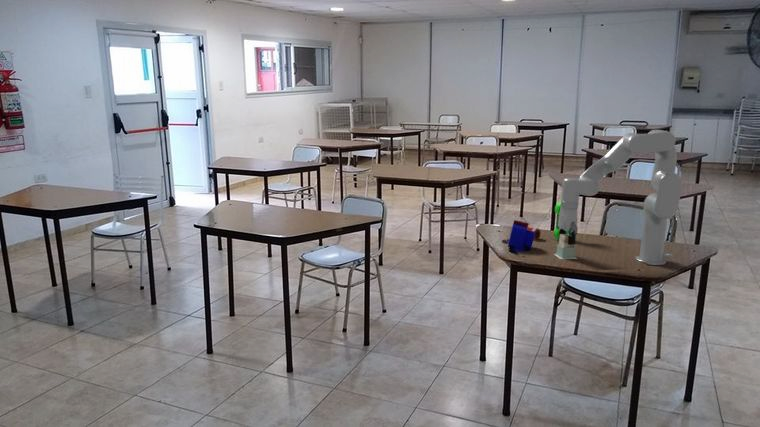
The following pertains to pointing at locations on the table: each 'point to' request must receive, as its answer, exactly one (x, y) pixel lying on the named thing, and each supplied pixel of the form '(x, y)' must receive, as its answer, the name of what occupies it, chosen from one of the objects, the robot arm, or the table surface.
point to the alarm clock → (520, 237)
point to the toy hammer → (536, 230)
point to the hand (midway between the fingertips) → (566, 241)
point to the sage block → (565, 252)
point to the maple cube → (564, 241)
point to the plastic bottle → (557, 211)
